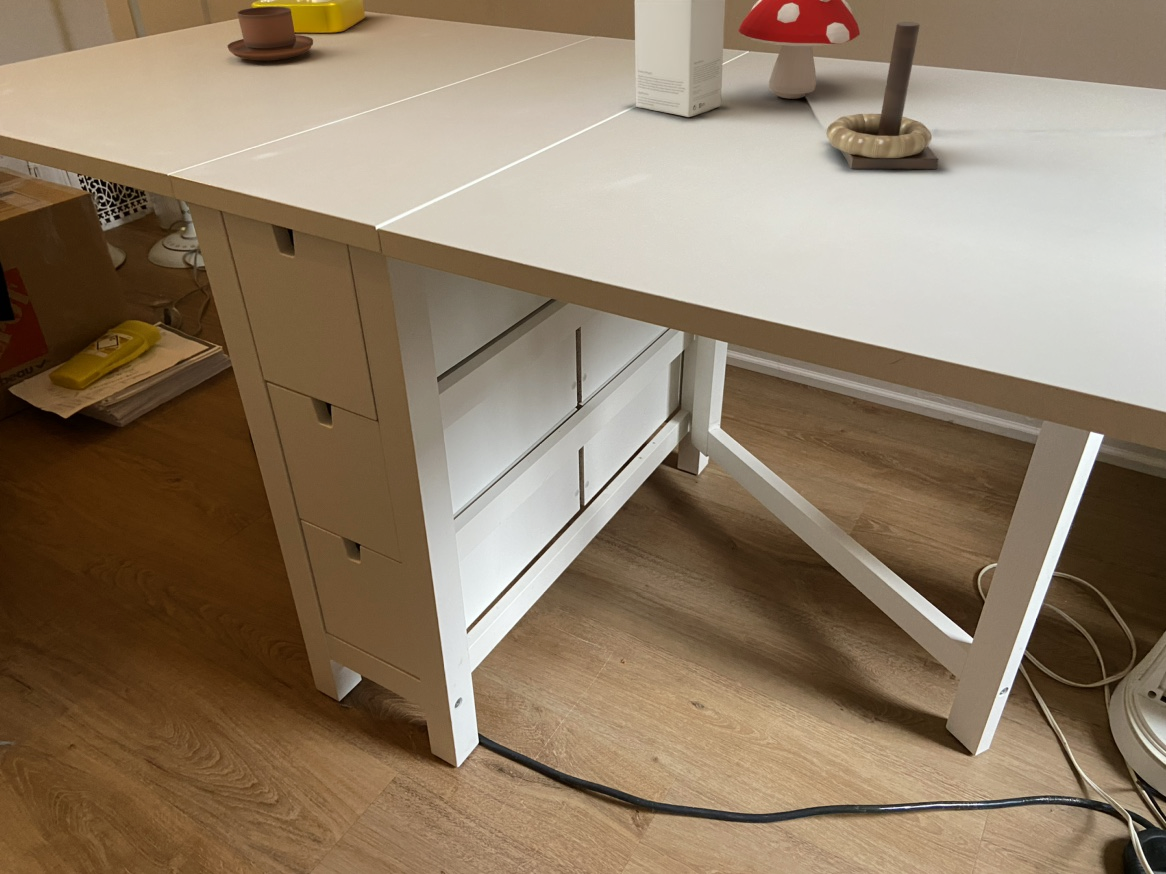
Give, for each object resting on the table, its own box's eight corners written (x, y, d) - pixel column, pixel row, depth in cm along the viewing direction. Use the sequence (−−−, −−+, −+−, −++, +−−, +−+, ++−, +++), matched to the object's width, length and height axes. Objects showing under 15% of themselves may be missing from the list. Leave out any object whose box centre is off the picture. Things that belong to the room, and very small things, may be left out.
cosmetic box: (721, 108, 102) (732, -44, 93) (686, 120, 98) (694, -38, 89) (665, 96, 107) (671, -50, 98) (630, 107, 103) (632, -44, 94)
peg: (915, 143, 90) (941, 15, 83) (936, 169, 83) (966, 32, 76) (836, 143, 90) (855, 16, 83) (851, 168, 83) (873, 32, 77)
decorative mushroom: (747, 79, 113) (758, -54, 104) (856, 87, 109) (878, -50, 100) (721, 106, 102) (732, -39, 94) (841, 116, 98) (864, -34, 90)
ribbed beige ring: (913, 131, 90) (917, 111, 89) (939, 161, 82) (944, 139, 81) (819, 131, 90) (821, 111, 89) (835, 160, 82) (838, 139, 81)
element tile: (368, 16, 154) (364, -14, 152) (341, 33, 142) (336, 1, 139) (286, 16, 156) (280, -14, 153) (252, 33, 144) (245, 1, 141)
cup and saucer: (216, 57, 129) (205, 11, 125) (291, 45, 135) (283, 1, 132) (252, 70, 121) (242, 21, 118) (330, 56, 128) (322, 10, 124)
